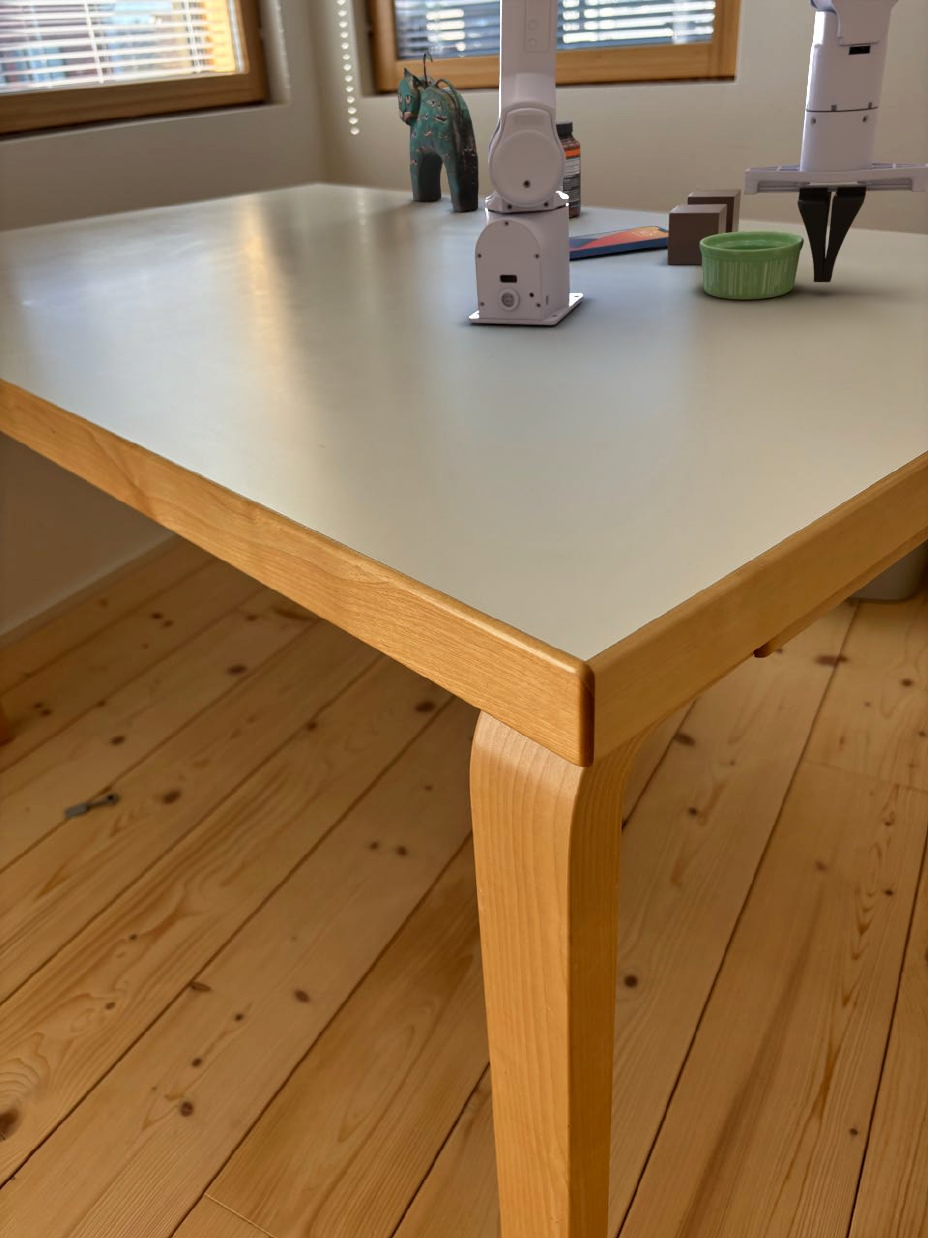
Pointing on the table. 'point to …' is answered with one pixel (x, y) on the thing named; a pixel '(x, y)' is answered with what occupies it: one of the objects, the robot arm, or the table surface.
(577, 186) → the supplement bottle
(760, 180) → the robot arm
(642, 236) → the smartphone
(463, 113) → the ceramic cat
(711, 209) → the walnut block near
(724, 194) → the walnut block far
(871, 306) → the table surface
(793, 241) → the ramekin
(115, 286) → the table surface
